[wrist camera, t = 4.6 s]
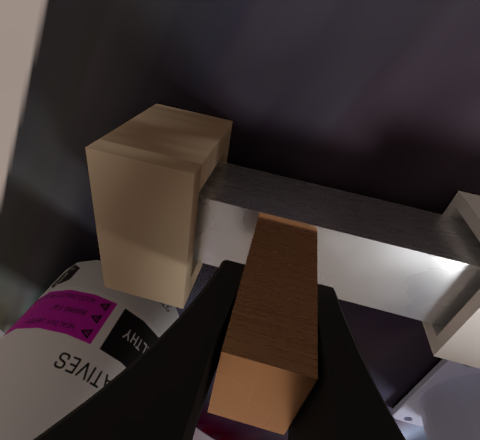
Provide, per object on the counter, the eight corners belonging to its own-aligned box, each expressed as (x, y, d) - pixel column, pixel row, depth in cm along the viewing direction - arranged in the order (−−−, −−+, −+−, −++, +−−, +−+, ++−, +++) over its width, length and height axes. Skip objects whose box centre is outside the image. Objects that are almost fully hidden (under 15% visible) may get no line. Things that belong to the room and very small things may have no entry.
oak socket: (232, 120, 13) (194, 173, 9) (216, 233, 16) (183, 308, 12) (156, 103, 13) (84, 147, 9) (156, 218, 17) (104, 287, 13)
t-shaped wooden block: (532, 236, 12) (787, 509, 6) (485, 287, 14) (636, 541, 7) (166, 148, 13) (17, 290, 7) (165, 206, 15) (45, 365, 8)
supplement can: (57, 300, 23) (-236, 634, 11) (85, 229, 18) (-377, 680, 6) (155, 352, 24) (-8, 702, 12) (205, 299, 20) (21, 782, 7)
